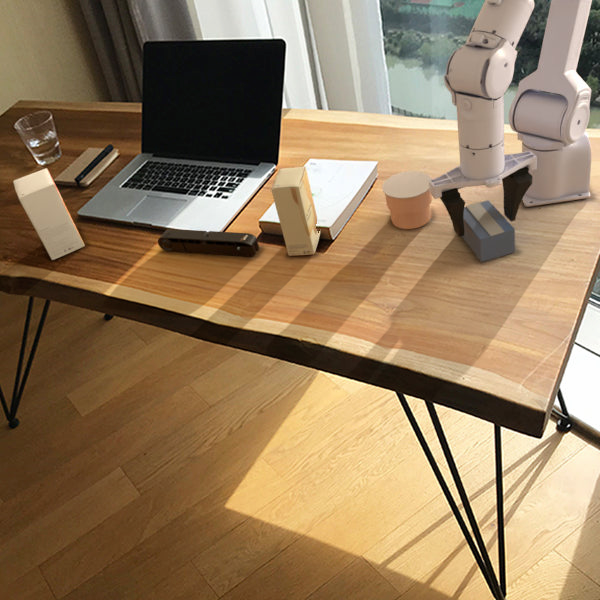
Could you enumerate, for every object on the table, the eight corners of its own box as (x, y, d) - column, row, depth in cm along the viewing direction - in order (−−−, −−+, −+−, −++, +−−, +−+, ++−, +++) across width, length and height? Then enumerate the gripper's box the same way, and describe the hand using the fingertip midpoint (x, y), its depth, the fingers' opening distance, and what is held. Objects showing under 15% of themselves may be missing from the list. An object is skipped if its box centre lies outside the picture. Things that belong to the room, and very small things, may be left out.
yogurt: (433, 201, 109) (429, 167, 106) (438, 227, 104) (435, 193, 100) (385, 208, 111) (381, 175, 107) (388, 235, 105) (383, 201, 101)
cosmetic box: (314, 255, 105) (298, 187, 97) (288, 257, 106) (269, 190, 98) (321, 231, 109) (306, 164, 102) (295, 233, 111) (278, 167, 103)
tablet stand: (160, 251, 115) (154, 237, 113) (168, 242, 117) (162, 228, 115) (254, 258, 108) (249, 242, 106) (260, 248, 109) (256, 233, 107)
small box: (86, 246, 121) (54, 183, 113) (51, 261, 120) (17, 198, 112) (77, 227, 127) (46, 166, 119) (44, 241, 126) (11, 180, 118)
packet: (457, 231, 102) (456, 209, 99) (489, 222, 102) (488, 199, 99) (481, 262, 95) (480, 238, 93) (515, 252, 95) (514, 228, 93)
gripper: (439, 167, 85) (446, 254, 93) (549, 135, 85) (546, 224, 94) (420, 144, 90) (428, 228, 99) (522, 114, 91) (522, 200, 99)
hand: (484, 225), depth 97 cm, fingers open, 7 cm apart
